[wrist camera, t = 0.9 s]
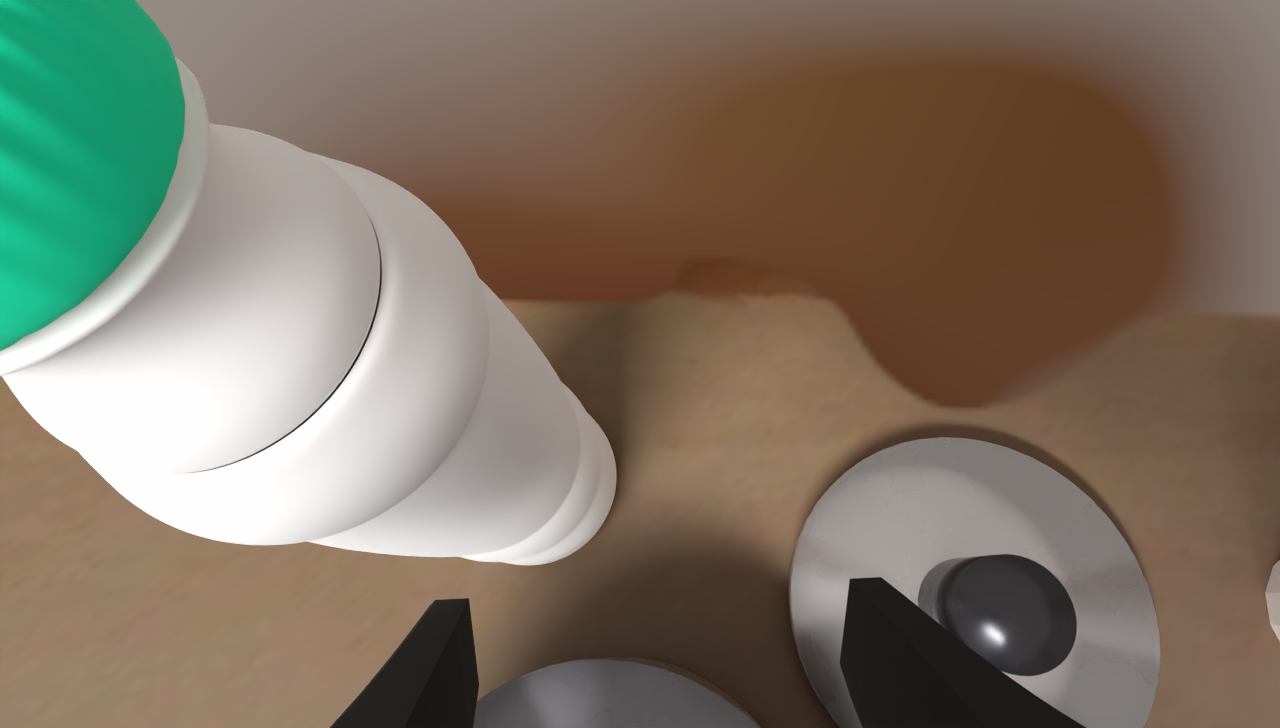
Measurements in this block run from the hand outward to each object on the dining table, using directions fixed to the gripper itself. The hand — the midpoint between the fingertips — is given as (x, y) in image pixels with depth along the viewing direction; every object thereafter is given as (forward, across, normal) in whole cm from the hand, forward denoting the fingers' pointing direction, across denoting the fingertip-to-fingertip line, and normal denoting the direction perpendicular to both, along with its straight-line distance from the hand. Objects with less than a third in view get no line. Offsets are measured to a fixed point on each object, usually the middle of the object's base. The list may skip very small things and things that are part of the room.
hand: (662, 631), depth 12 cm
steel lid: (+10, -13, +9) cm, 18 cm away
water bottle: (+16, +4, +6) cm, 17 cm away
